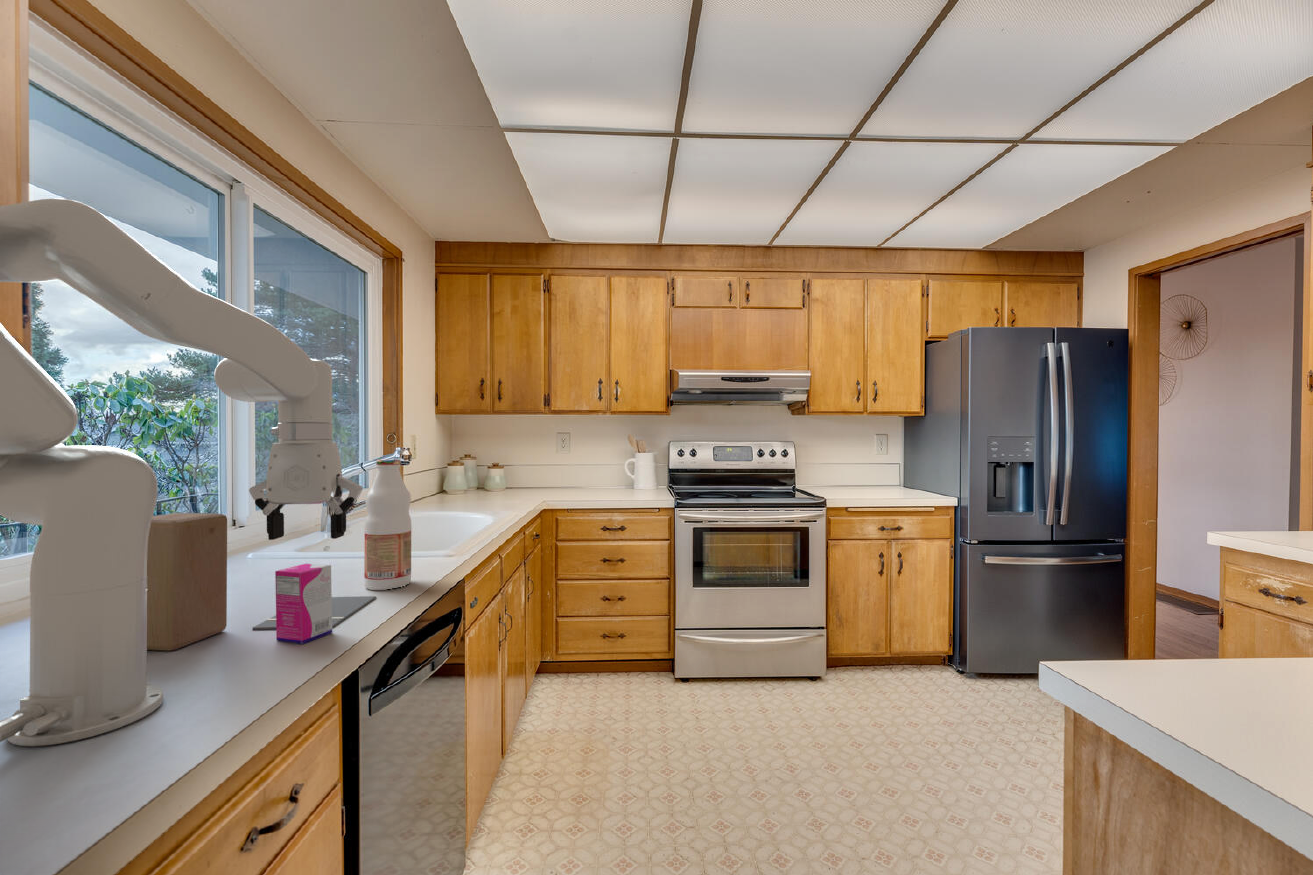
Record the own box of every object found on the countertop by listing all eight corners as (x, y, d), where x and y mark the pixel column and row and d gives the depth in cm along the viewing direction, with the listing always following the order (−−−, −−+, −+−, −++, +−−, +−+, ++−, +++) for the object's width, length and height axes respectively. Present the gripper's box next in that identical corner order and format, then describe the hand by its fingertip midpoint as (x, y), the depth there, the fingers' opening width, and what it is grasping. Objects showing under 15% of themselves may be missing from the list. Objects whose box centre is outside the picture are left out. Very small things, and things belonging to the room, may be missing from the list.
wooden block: (229, 630, 94) (230, 512, 94) (172, 653, 84) (173, 521, 84) (176, 628, 95) (176, 511, 95) (113, 650, 85) (114, 520, 85)
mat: (332, 627, 95) (332, 624, 95) (252, 629, 94) (252, 626, 94) (376, 598, 113) (376, 595, 113) (309, 599, 112) (309, 597, 112)
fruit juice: (374, 593, 116) (375, 460, 116) (357, 585, 122) (357, 459, 123) (418, 585, 123) (419, 459, 123) (400, 578, 130) (400, 458, 130)
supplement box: (306, 629, 95) (307, 562, 95) (333, 632, 93) (333, 564, 93) (274, 640, 89) (274, 569, 89) (301, 645, 87) (301, 572, 87)
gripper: (235, 434, 87) (236, 543, 87) (350, 434, 88) (351, 541, 88) (264, 434, 94) (266, 534, 94) (370, 434, 96) (371, 532, 96)
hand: (307, 537), depth 91 cm, fingers open, 9 cm apart
